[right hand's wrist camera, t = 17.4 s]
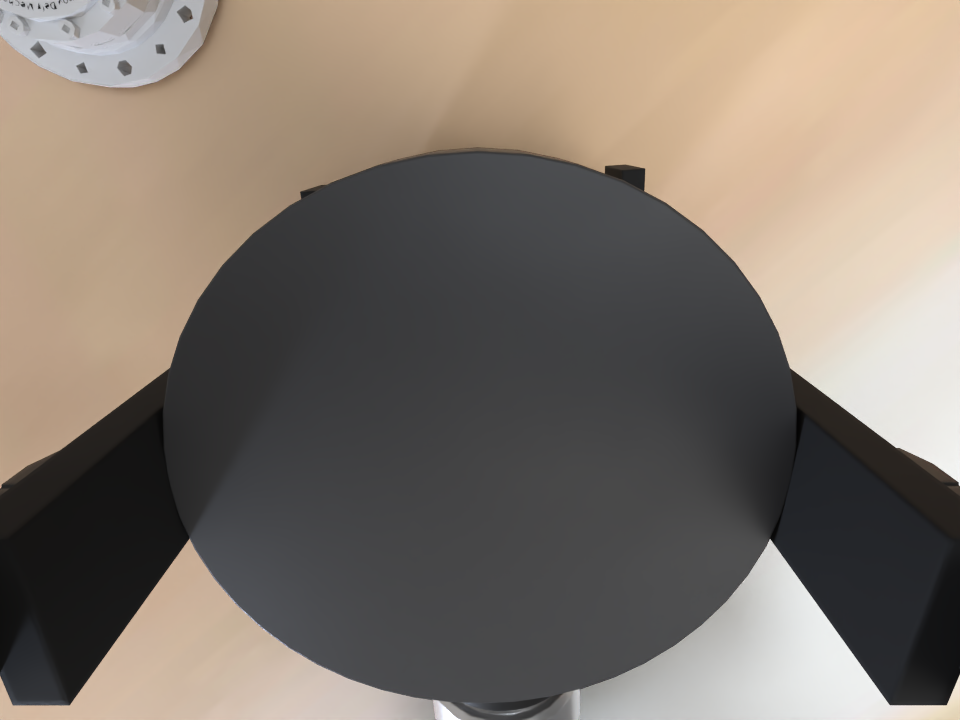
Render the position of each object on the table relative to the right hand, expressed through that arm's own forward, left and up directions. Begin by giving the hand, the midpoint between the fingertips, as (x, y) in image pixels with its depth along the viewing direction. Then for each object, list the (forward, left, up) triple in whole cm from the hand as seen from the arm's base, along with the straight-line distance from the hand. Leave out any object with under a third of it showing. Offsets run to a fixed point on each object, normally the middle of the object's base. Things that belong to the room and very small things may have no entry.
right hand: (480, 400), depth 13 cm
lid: (0, 0, +3) cm, 3 cm away
